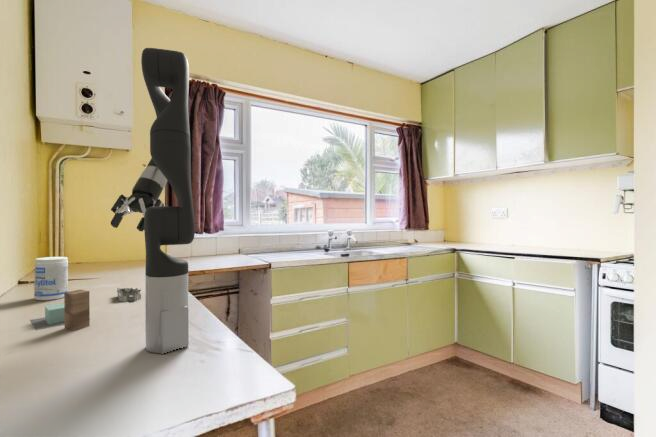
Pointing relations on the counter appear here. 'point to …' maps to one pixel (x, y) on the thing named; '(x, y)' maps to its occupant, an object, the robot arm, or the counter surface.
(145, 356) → the counter surface
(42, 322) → the mat
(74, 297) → the pillar
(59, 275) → the supplement tub
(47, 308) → the plinth
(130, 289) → the egg carton
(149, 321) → the robot arm
